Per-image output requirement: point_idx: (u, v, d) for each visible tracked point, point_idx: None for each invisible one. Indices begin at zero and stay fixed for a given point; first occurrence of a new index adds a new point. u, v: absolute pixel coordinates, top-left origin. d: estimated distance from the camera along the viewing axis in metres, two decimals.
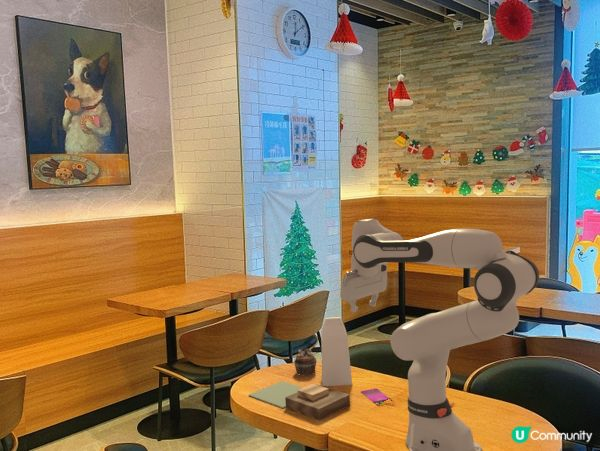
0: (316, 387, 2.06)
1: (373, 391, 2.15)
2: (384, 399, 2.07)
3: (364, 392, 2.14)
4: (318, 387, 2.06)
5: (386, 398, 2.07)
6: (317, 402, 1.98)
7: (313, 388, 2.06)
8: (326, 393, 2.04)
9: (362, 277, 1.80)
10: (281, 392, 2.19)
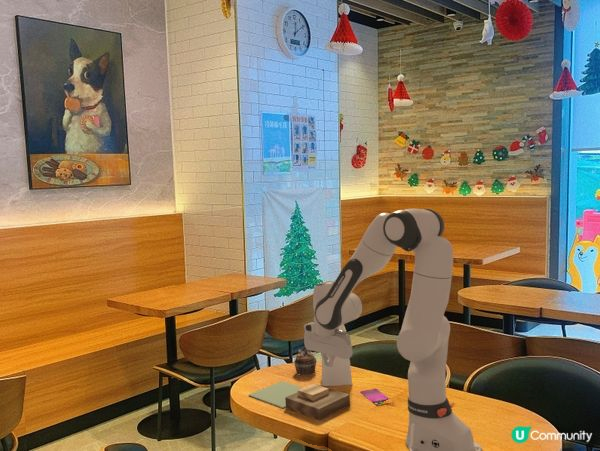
0: (316, 387, 2.06)
1: (373, 391, 2.15)
2: (383, 399, 2.07)
3: (364, 392, 2.14)
4: (318, 387, 2.06)
5: (385, 398, 2.07)
6: (317, 402, 1.98)
7: (313, 388, 2.06)
8: (326, 393, 2.04)
9: None
10: (281, 392, 2.19)
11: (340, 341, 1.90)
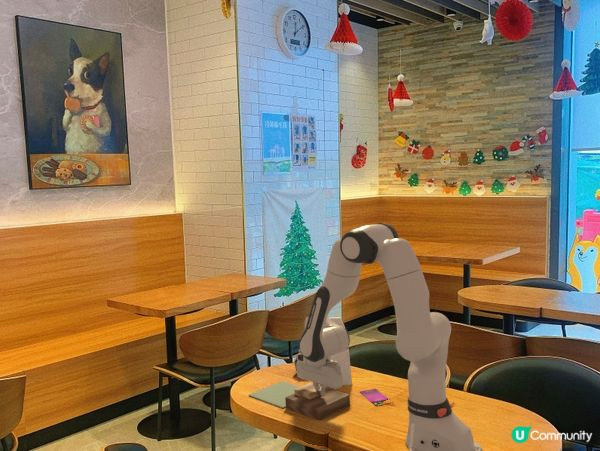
0: (312, 386, 2.08)
1: (372, 391, 2.15)
2: (383, 399, 2.06)
3: (363, 392, 2.14)
4: None
5: (385, 398, 2.07)
6: (317, 402, 1.98)
7: (310, 387, 2.07)
8: None
9: None
10: (281, 392, 2.19)
11: (331, 371, 1.95)
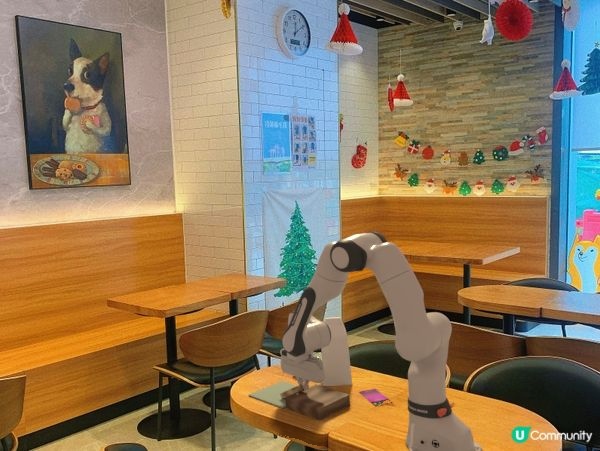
0: None
1: (372, 391, 2.15)
2: (382, 399, 2.06)
3: (363, 392, 2.14)
4: None
5: (384, 398, 2.07)
6: (317, 402, 1.98)
7: None
8: None
9: None
10: (281, 392, 2.19)
11: (313, 366, 2.01)
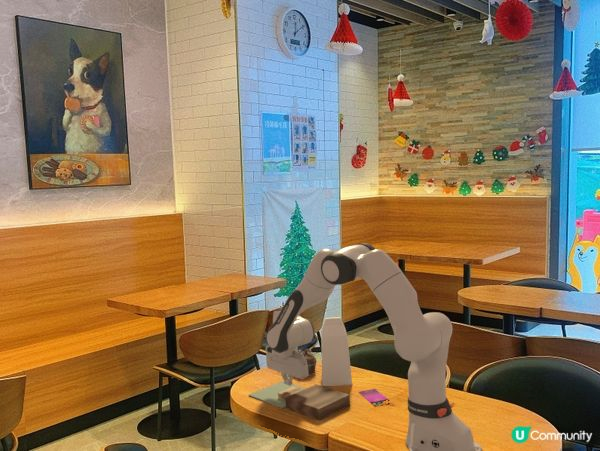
0: (295, 390, 2.14)
1: (371, 391, 2.14)
2: (382, 400, 2.06)
3: (362, 392, 2.14)
4: (298, 390, 2.14)
5: (384, 399, 2.07)
6: (317, 402, 1.98)
7: (293, 391, 2.14)
8: None
9: None
10: None
11: (296, 362, 2.07)
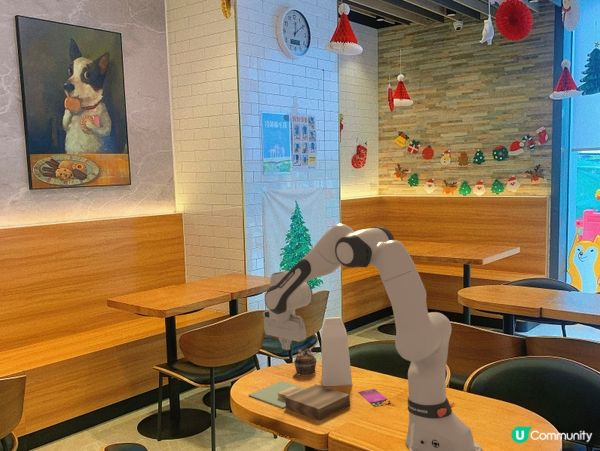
0: (295, 390, 2.14)
1: (371, 392, 2.14)
2: (381, 400, 2.06)
3: (362, 392, 2.14)
4: (298, 390, 2.14)
5: (383, 399, 2.07)
6: (317, 402, 1.98)
7: (293, 391, 2.14)
8: None
9: None
10: None
11: (294, 325, 2.06)
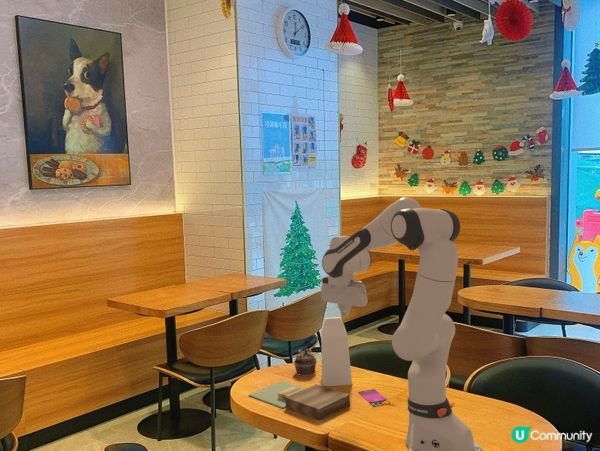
0: (295, 390, 2.14)
1: (371, 392, 2.14)
2: (381, 400, 2.06)
3: (361, 392, 2.14)
4: (298, 390, 2.14)
5: (383, 399, 2.07)
6: (317, 402, 1.98)
7: (293, 391, 2.14)
8: None
9: None
10: None
11: (355, 290, 2.03)
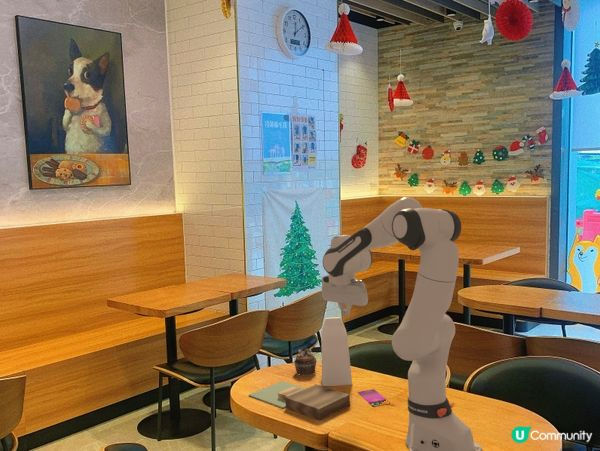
0: (295, 390, 2.14)
1: (370, 392, 2.14)
2: (380, 400, 2.06)
3: (361, 393, 2.14)
4: (298, 390, 2.14)
5: (382, 399, 2.07)
6: (317, 402, 1.98)
7: (293, 391, 2.14)
8: None
9: None
10: None
11: (356, 289, 2.03)
